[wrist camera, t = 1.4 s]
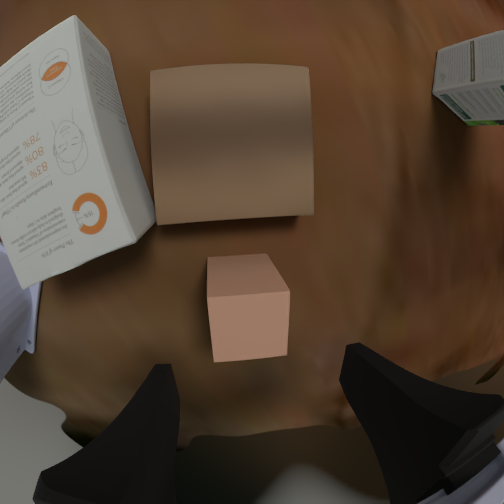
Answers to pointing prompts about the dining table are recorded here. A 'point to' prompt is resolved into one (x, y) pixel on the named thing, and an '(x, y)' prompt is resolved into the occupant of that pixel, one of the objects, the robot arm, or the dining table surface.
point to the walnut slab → (231, 142)
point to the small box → (66, 157)
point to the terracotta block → (246, 308)
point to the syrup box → (473, 79)
